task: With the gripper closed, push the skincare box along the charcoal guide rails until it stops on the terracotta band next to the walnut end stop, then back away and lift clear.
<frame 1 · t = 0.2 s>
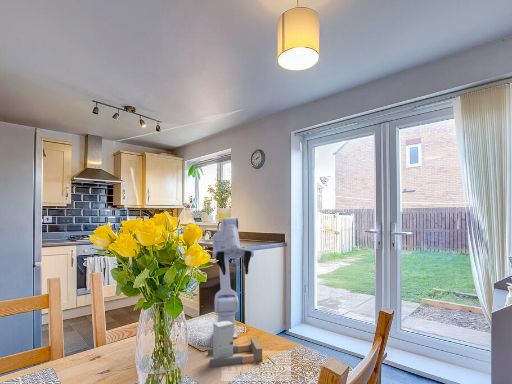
hand: (235, 272, 101), 31 cm above the table, tool tilted 45°, fingers open, 7 cm apart
skincare box: (223, 359, 106), resting in guide channel
guide channel: (234, 357, 107), on the table
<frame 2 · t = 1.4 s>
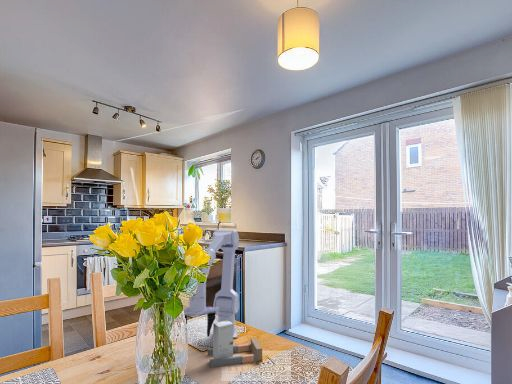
hand: (197, 336, 104), 8 cm above the table, tool pointing down, fingers open, 7 cm apart
nothing on the table moved.
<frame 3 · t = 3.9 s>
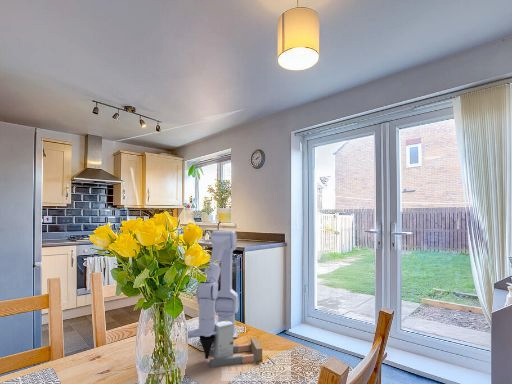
hand: (206, 357, 105), 1 cm above the table, tool pointing down, fingers closed
skincare box: (223, 359, 106), resting in guide channel, touching gripper
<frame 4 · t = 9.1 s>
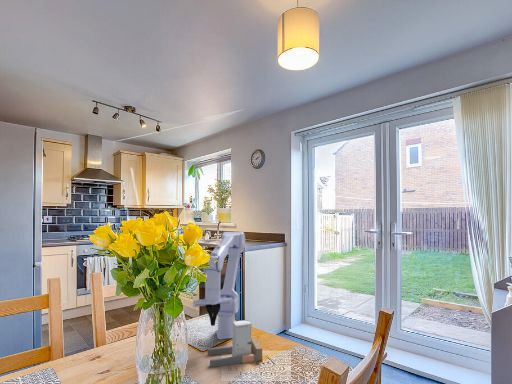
hand: (212, 324, 113), 9 cm above the table, tool pointing down, fingers closed
skincare box: (241, 358, 106), resting in guide channel
at the end: skincare box 1.1 cm from the target spot, resting in guide channel; skincare box tilted 0° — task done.
